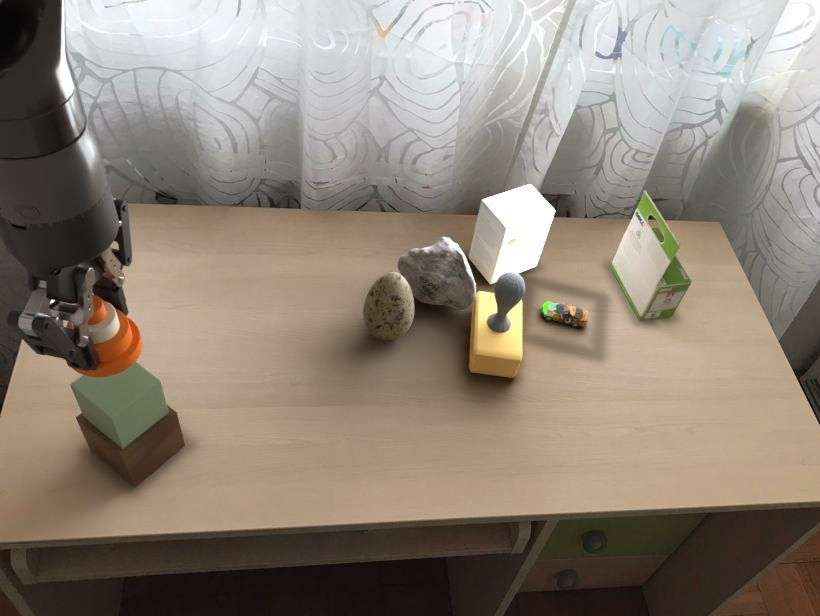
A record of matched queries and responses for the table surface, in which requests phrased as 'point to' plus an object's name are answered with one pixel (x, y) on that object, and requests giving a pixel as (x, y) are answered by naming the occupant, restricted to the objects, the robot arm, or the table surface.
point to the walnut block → (136, 447)
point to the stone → (439, 274)
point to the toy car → (564, 314)
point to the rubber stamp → (498, 328)
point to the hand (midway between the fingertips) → (100, 339)
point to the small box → (510, 232)
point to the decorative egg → (389, 307)
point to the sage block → (121, 403)
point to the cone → (112, 339)
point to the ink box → (650, 265)
